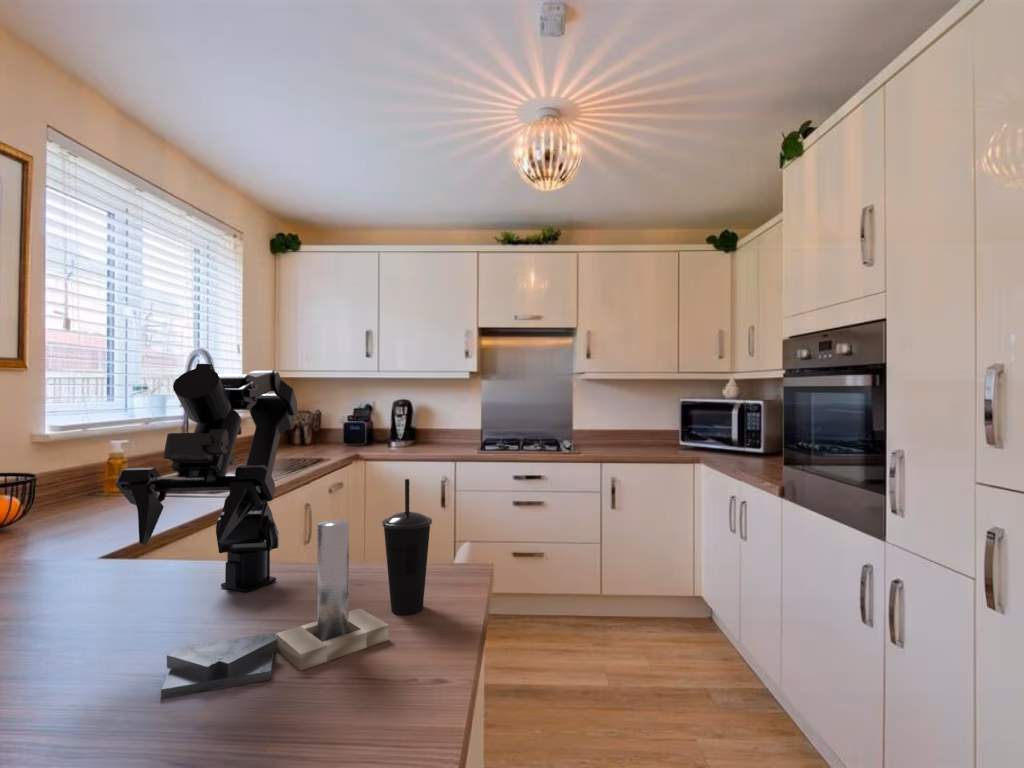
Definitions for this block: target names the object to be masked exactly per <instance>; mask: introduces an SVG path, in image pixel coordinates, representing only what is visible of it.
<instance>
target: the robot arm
mask: <svg viewBox="0 0 1024 768" xmlns="http://www.w3.org/2000/svg"><path fill="white" fill-rule="evenodd" d="M280 375H281V374H280V373H279V371H275V370H253V371H250V372H249V373H245V374H219V373H218V372H216V370H215V367H214V364H213V363H196V366H195V368H193V369H190V370H188V371H185V372H184V373H182V374H181V375H179V376H178V377H177V378H176V379H175V380H174V382H173V386H172V388H173V391H174V392H173V393H174V394H175V395H176V398H177V399H178V401H179V403H180V405H181V406H182V408H183V410H184V412H185V414H186V415H187V418H188V420H190V421H192V422H195V423H196V424H195V428H194V430H193V432H169V433H167V435H166V440H165V445H164V450H163V456H162V458H163V459H165V460H167V459H168V460H170V461H172V465H171V466H170V467H171V469H172V470H173V472H178V476H162V475H161V474H160V472H159V471H158V470H157V468H156V467H128V468H125V469H123V470H122V471H121V472H120V473H119V475H118V476H117V479H116V481H115V483H114V485H115V486H116V488H117V489H118V490H119V491H120V492H121V493H122V495H123V496H124V498H125V499H126V500H127V501H128V502H129V503H130V505H135V506H136V508H137V510H136V511H137V521H138V524H137V525H138V541H139V542H138V543H139V544H140V545H141V546H142V547H143V546H144V547H145V546H147V544H148V542H149V541H150V539H151V538H152V535H153V533H154V531H155V528H156V525H157V523H158V521H159V520H160V516H161V514H162V513H163V510H164V505H163V504H162V503H163V501H165V499H166V497H167V494H168V492H169V493H173V492H180V493H181V492H222V491H223V492H224V491H225V492H226V491H227V492H229V494H228V496H226V498H225V499H224V502H223V503H224V504H223V509H222V511H221V513H220V516H219V518H218V519H217V522H216V524H215V525H216V526H215V535H216V543H217V547H218V548H217V549H218V553H219V554H225V553H227V560H226V562H225V572H224V573H225V574H224V575H225V577H224V579H225V582H223V583H220V587H221V588H224V589H229V590H235V591H239V592H244V593H246V592H250V591H253V590H256V589H258V588H261V587H264V586H266V585H268V584H271V583H273V582H275V581H277V577H275V576H271V569H270V568H271V551H272V550H275V549H279V543H280V542H279V541H280V540H279V539H280V538H279V530H278V528H277V524H276V522H275V519H274V516H273V512H272V510H271V508H270V506H269V504H268V502H271V501H273V499H274V497H275V496H274V495H275V492H276V483H275V481H274V479H273V471H274V466H275V461H276V457H277V453H278V447H279V444H280V438H281V436H282V435H283V434H284V433H285V432H287V430H288V429H290V428H292V425H293V421H294V417H295V416H297V413H298V400H297V397H296V393H295V391H294V388H293V387H291V386H290V385H289V384H287V383H286V382H285V381H283V380H282V378H281V376H280ZM270 392H271V393H270ZM272 392H274V393H272ZM237 411H248V412H249V414H250V416H251V419H252V422H253V425H254V427H255V430H254V434H253V437H252V440H251V441H252V442H251V444H250V450H249V452H248V457H247V460H246V464H245V465H239V466H237V467H235V468H236V469H235V472H234V475H227V472H228V469H229V466H230V465H231V466H233V464H234V460H235V458H234V455H233V452H234V449H235V446H236V441H237V437H238V436H241V435H242V433H243V432H242V431H243V430H242V426H241V423H242V417H241V416H240V413H238V412H237Z"/></svg>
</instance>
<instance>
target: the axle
mask: <svg viewBox="0 0 1024 768" xmlns="http://www.w3.org/2000/svg"><path fill="white" fill-rule="evenodd" d="M316 527H317V528H316V531H317V535H316V538H317V539H316V540H317V541H316V542H317V546H316V547H317V548H316V549H317V550H316V551H317V553H316V555H317V556H316V558H317V559H316V560H317V562H316V563H317V564H316V566H317V567H316V570H317V572H316V577H317V578H316V579H317V580H316V581H317V582H316V583H317V585H316V592H317V593H316V600H317V601H316V606H317V607H316V612H317V613H316V616H317V617H316V619H317V620H316V621H317V638H318V639H319V640H320V641H322V642H324V641H327V640H330V639H333V638H336V637H339V636H342V635H345V634H349V611H350V602H349V601H350V592H349V591H350V590H349V589H350V521H348V520H343V519H334V520H333V519H331V520H325V521H321V522H318V523H317V526H316Z"/></svg>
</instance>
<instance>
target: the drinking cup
mask: <svg viewBox="0 0 1024 768" xmlns="http://www.w3.org/2000/svg"><path fill="white" fill-rule="evenodd" d="M381 521H382V522H381V526H382V527H383V530H384V531H383V533H384V543H385V554H386V565H387V567H386V568H387V578H388V589H389V590H388V591H389V598H390V599H389V600H390V601H389V602H390V609H391V613H392V614H395V615H398V616H410V615H415V614H417V613H420V612H421V611H423V608H424V599H425V587H426V577H427V568H428V567H427V566H428V556H429V555H428V553H429V544H430V542H429V541H430V530H431V525H432V523H433V519H432V518H431V517H429V516H426V515H425V514H423V513H421V512H416V511H415V512H414V511H410V478H405V479H404V511H403V512H399V513H398V512H397V513H395V514H393V515H391V516H389V517H387V518H385V519H383V520H381Z"/></svg>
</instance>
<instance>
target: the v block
mask: <svg viewBox="0 0 1024 768" xmlns="http://www.w3.org/2000/svg"><path fill="white" fill-rule="evenodd" d="M276 633H277V632H273V633H265V634H258V635H257V634H256V635H251V636H244V637H239V638H238V637H237V638H231V639H223V640H218V641H217V640H215V641H212V642H211V641H210V642H203V643H197V644H190V645H188V644H187V645H183V646H181V648H179V649H178V650H175V651H173V652H170V653H169V654H166V668H167V669H169V672H168V674H167V676H166V678H165V680H164V683H163V684H162V685H161V686H162V687H161V688H160V699H166V698H173V697H180V696H185V695H190V694H196V693H201V692H202V693H203V692H207V691H212V690H217V689H219V690H220V689H225V688H231V687H236V686H243V685H249V684H254V683H255V684H256V683H259V682H265V681H271V678H272V671H273V670H272V669H273V662H274V655H275V652H279V651H278V639H277V638H276Z"/></svg>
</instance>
